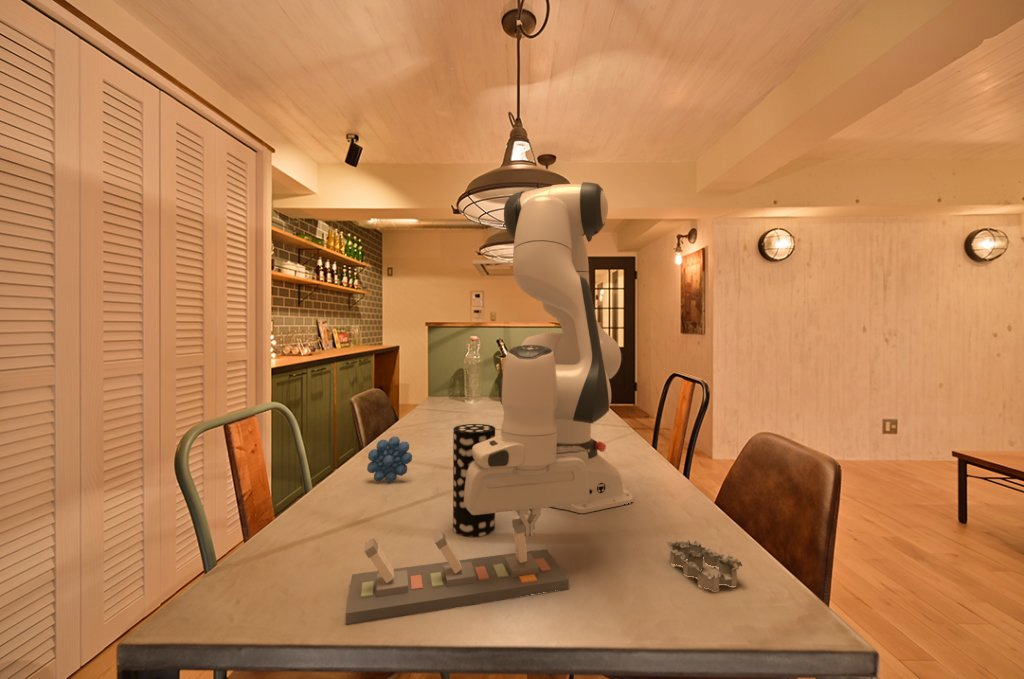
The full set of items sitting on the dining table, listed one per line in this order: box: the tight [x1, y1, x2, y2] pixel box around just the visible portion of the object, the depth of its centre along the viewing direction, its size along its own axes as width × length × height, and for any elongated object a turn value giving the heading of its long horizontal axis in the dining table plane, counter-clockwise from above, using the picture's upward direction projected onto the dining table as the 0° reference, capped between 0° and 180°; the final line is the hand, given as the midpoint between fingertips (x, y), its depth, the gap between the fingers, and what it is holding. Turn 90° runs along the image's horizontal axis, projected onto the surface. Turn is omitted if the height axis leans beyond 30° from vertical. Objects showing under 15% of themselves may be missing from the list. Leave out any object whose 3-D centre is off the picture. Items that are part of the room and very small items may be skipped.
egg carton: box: [666, 540, 743, 592], centre depth 74 cm, size 11×8×4 cm
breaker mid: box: [433, 530, 462, 574], centre depth 69 cm, size 1×3×6 cm, turn 15°
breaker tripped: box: [511, 517, 527, 563], centre depth 72 cm, size 1×3×6 cm, turn 15°
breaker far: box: [363, 537, 395, 583], centre depth 66 cm, size 1×3×6 cm, turn 15°
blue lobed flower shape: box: [366, 436, 413, 483], centre depth 118 cm, size 12×7×12 cm, turn 91°
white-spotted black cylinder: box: [452, 423, 496, 538], centre depth 90 cm, size 8×8×20 cm
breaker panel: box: [345, 548, 570, 625], centre depth 69 cm, size 32×10×2 cm, turn 105°
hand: (527, 534), depth 71 cm, fingers closed, pressing on breaker tripped
